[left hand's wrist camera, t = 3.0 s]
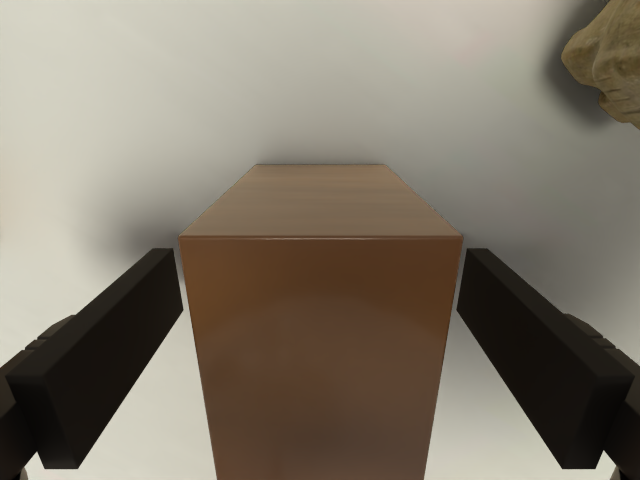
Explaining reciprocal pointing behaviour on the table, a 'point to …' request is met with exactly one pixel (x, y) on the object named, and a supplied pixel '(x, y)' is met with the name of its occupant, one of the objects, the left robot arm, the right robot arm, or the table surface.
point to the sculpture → (610, 59)
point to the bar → (320, 322)
